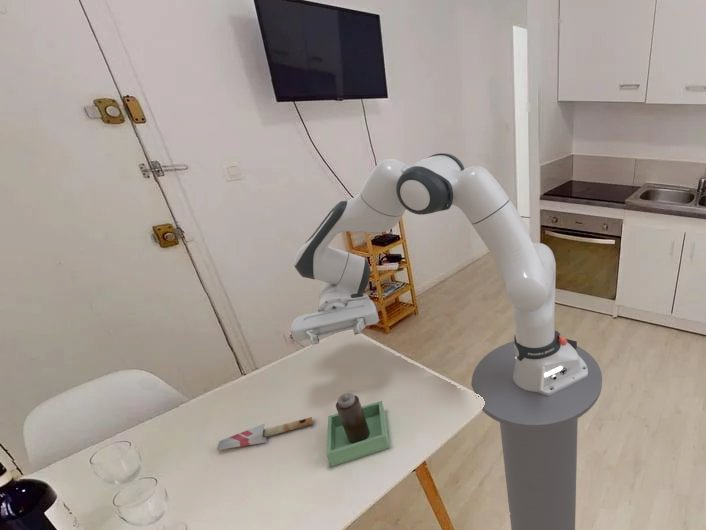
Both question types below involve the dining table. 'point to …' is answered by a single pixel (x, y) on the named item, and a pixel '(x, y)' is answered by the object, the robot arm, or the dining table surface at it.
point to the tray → (377, 441)
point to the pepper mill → (352, 418)
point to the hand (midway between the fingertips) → (336, 336)
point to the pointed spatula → (260, 434)
